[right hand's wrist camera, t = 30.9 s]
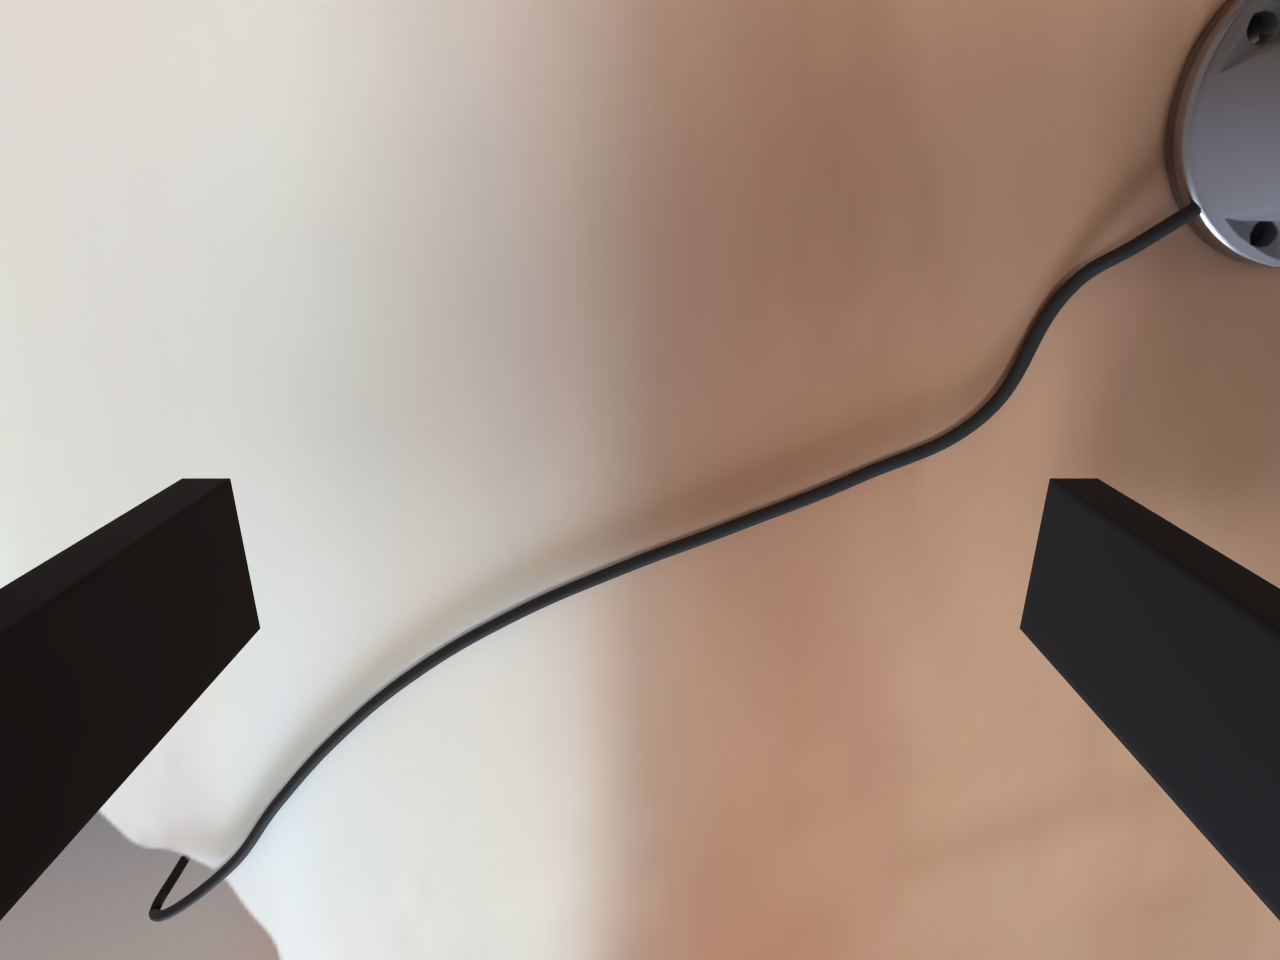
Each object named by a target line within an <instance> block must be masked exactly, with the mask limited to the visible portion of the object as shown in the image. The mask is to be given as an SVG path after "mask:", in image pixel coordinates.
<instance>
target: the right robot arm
mask: <svg viewBox="0 0 1280 960" xmlns="http://www.w3.org/2000/svg"><path fill="white" fill-rule="evenodd" d="M1166 162H1167V172H1168V177H1169V182H1170V186H1171V189H1172V192H1173V195H1174V199H1175V201H1176V203H1177V205H1178V207H1179V211H1178V212H1176V213H1174V214H1173V215H1171V216H1170V217H1168V218H1166V219H1165V220H1163V221H1162V222H1160V223H1158V224H1157V225H1155V226H1154V227H1152V228H1150V229H1149V230H1147V231H1146V232H1144V233H1142V234H1141V235H1139V236H1137V237H1136V238H1134V239H1133V240H1131V241H1129V242H1127V243H1126V244H1124V245H1122V246H1120V247H1118V248H1116V249H1114V250H1112V251H1110V252H1108V253H1106V254H1105V255H1103V256H1101V257H1099V258H1097V259H1095V260H1094V261H1092V262H1090V263H1089V264H1087V265H1086V266H1084V267H1083V268H1081V269H1080V270H1079V271H1078V272H1076V273H1075V274H1074V275H1073V276H1072V277H1071V278H1069V280H1068V281H1067V282H1066V283H1065V284H1064V285H1063V286H1062V287H1061V288H1060V289H1059V290H1058V291H1057V292H1056V293H1055V295H1054V296H1053V297H1052V298H1051V300H1050V301H1049V302H1048V303H1047V305H1046V306H1045V308H1044V309H1043V311H1042V312H1041V314H1040V315H1039V317H1038V319H1037V320H1036V322H1035V324H1034V325H1033V327H1032V329H1031V331H1030V333H1029V335H1028V337H1027V339H1026V341H1025V343H1024V345H1023V347H1022V349H1021V351H1020V353H1019V355H1018V357H1017V359H1016V361H1015V363H1014V365H1013V366H1012V368H1011V370H1010V372H1009V374H1008V375H1007V377H1006V379H1005V380H1004V382H1003V383H1002V385H1001V386H1000V388H999V389H998V390H997V392H996V393H995V394H994V395H993V396H992V398H991V399H990V400H989V401H988V402H987V403H986V404H985V405H984V406H983V407H982V408H981V409H980V410H979V411H978V412H976V413H975V414H974V415H973V416H971V417H970V418H969V419H968V420H966V421H965V422H963V423H962V424H961V425H959V426H958V427H956V428H955V429H953V430H951V431H950V432H948V433H946V434H944V435H943V436H941V437H939V438H937V439H935V440H933V441H931V442H928V443H926V444H924V445H921V446H919V447H916V448H914V449H911V450H909V451H906V452H903V453H901V454H898V455H895V456H893V457H890V458H887V459H885V460H882V461H880V462H877V463H875V464H872V465H869V466H867V467H865V468H862V469H860V470H858V471H856V472H853V473H851V474H849V475H846V476H844V477H842V478H839V479H837V480H835V481H832V482H830V483H828V484H825V485H823V486H820V487H818V488H815V489H813V490H810V491H808V492H805V493H803V494H800V495H798V496H795V497H792V498H790V499H787V500H785V501H782V502H779V503H777V504H774V505H771V506H769V507H766V508H764V509H761V510H758V511H756V512H753V513H750V514H748V515H745V516H743V517H740V518H737V519H735V520H732V521H730V522H727V523H724V524H722V525H719V526H716V527H714V528H711V529H708V530H706V531H703V532H700V533H698V534H695V535H692V536H689V537H687V538H684V539H681V540H678V541H676V542H673V543H670V544H667V545H665V546H662V547H659V548H657V549H654V550H651V551H649V552H646V553H643V554H641V555H638V556H636V557H633V558H631V559H628V560H626V561H623V562H621V563H618V564H616V565H613V566H611V567H608V568H606V569H603V570H601V571H598V572H596V573H593V574H591V575H589V576H586V577H584V578H581V579H579V580H576V581H574V582H571V583H569V584H567V585H564V586H562V587H560V588H557V589H555V590H553V591H550V592H548V593H546V594H544V595H542V596H539V597H537V598H535V599H533V600H531V601H529V602H527V603H525V604H523V605H520V606H518V607H516V608H514V609H512V610H510V611H508V612H506V613H505V614H503V615H501V616H499V617H497V618H495V619H493V620H491V621H489V622H487V623H485V624H483V625H481V626H480V627H478V628H476V629H474V630H472V631H470V632H469V633H467V634H465V635H463V636H462V637H460V638H458V639H456V640H455V641H453V642H451V643H450V644H448V645H446V646H445V647H443V648H442V649H440V650H438V651H437V652H435V653H434V654H432V655H431V656H429V657H428V658H426V659H425V660H423V661H422V662H420V663H419V664H417V665H416V666H414V667H413V668H412V669H410V670H409V671H407V672H406V673H404V674H403V675H402V676H400V677H399V678H398V679H396V680H395V681H394V682H392V683H391V684H389V685H388V686H387V687H386V688H384V689H383V690H382V691H380V692H379V693H378V694H377V695H375V696H374V697H373V698H372V699H371V700H369V701H368V702H367V703H366V704H365V705H364V706H362V707H361V708H360V709H359V710H358V711H357V712H356V713H355V714H353V715H352V716H351V717H350V718H349V719H348V720H347V721H346V722H345V723H344V724H343V725H342V726H341V727H339V728H338V729H337V730H336V731H335V732H334V733H333V734H332V735H331V736H330V737H329V738H328V739H327V740H326V741H325V742H324V743H323V744H322V745H321V746H320V747H319V748H318V749H317V750H316V751H315V752H314V753H313V754H312V756H311V757H310V758H309V759H308V760H307V761H306V762H305V763H304V764H303V766H302V767H301V768H300V769H299V770H298V771H297V772H296V774H295V775H294V776H293V777H292V778H291V780H290V781H289V782H288V783H287V784H286V786H285V787H284V788H283V789H282V790H281V792H280V793H279V794H278V795H277V796H276V798H275V799H274V800H273V801H272V803H271V804H270V805H269V807H268V808H267V809H266V811H265V812H264V813H263V815H262V816H261V818H260V819H259V821H258V822H257V824H256V825H255V827H254V828H253V830H252V832H251V833H250V835H249V836H248V838H247V839H246V841H245V842H244V844H243V845H242V846H241V847H240V849H239V850H238V851H237V852H236V854H235V855H234V856H233V857H232V858H231V859H230V860H229V861H228V862H227V863H226V864H225V865H224V866H223V867H222V868H220V869H219V870H218V871H217V872H216V873H215V874H214V875H212V876H211V877H210V878H209V879H208V880H207V881H205V882H204V883H203V884H202V885H200V886H199V887H198V888H197V889H195V890H194V891H193V892H191V893H190V894H189V895H187V896H186V897H184V898H183V899H182V900H180V901H179V902H177V903H175V904H174V905H172V906H170V907H168V908H166V909H164V910H161V907H162V905H163V903H164V901H165V899H166V898H167V896H168V894H169V893H170V891H171V890H172V888H173V886H174V885H175V883H176V882H177V880H178V879H179V877H180V875H181V874H182V872H183V870H184V869H185V867H186V865H187V864H188V862H189V860H190V859H191V858H190V857H188V856H186V855H183V854H182V856H181V858H180V859H179V861H178V863H177V864H176V866H175V867H174V869H173V871H172V872H171V874H170V875H169V877H168V878H167V880H166V882H165V883H164V885H163V886H162V888H161V889H160V891H159V892H158V894H157V896H156V897H155V899H154V901H153V903H152V905H151V908H150V911H149V917H150V919H151V920H153V921H156V922H160V921H163V920H166V919H169V918H171V917H173V916H175V915H177V914H178V913H180V912H182V911H183V910H185V909H186V908H188V907H189V906H191V905H192V904H193V903H195V902H196V901H198V900H199V899H200V898H201V897H203V896H204V895H205V894H207V893H208V892H209V891H210V890H211V889H213V888H214V887H215V886H216V885H217V884H219V883H220V882H221V881H222V880H223V879H224V878H226V877H227V876H228V875H229V874H230V873H231V872H232V871H233V870H234V869H235V868H236V867H237V866H238V865H239V864H240V863H241V862H242V861H243V860H244V859H245V857H246V856H247V855H248V854H249V852H250V851H251V849H252V848H253V847H254V845H255V844H256V842H257V841H258V839H259V838H260V836H261V835H262V833H263V832H264V830H265V828H266V827H267V825H268V824H269V823H270V821H271V820H272V818H273V817H274V816H275V814H276V813H277V812H278V810H279V809H280V808H281V807H282V805H283V804H284V803H285V802H286V801H287V799H288V798H289V797H290V796H291V795H292V793H293V792H294V791H295V790H296V789H297V788H298V786H299V785H300V784H301V783H302V782H303V780H304V779H305V778H306V777H307V776H308V775H309V774H310V772H311V771H312V770H313V769H314V768H315V767H316V766H317V765H318V764H319V763H320V762H321V761H322V759H323V758H324V757H325V756H326V755H327V754H328V753H329V752H330V751H331V750H332V749H333V748H334V747H335V746H336V745H337V744H338V743H340V742H341V741H342V740H343V739H344V738H345V737H346V736H347V735H348V734H349V733H350V732H351V731H352V730H353V729H354V728H356V727H357V726H358V725H359V724H360V723H361V722H362V721H363V720H364V719H366V718H367V717H368V716H369V715H370V714H371V713H372V712H374V711H375V710H376V709H377V708H378V707H380V706H381V705H382V704H383V703H385V702H386V701H387V700H388V699H390V698H391V697H392V696H394V695H395V694H396V693H398V692H399V691H400V690H402V689H403V688H404V687H406V686H407V685H409V684H410V683H411V682H413V681H414V680H416V679H417V678H419V677H420V676H421V675H423V674H424V673H426V672H427V671H429V670H430V669H432V668H433V667H435V666H436V665H438V664H439V663H441V662H442V661H444V660H446V659H447V658H449V657H450V656H452V655H454V654H455V653H457V652H459V651H460V650H462V649H464V648H466V647H467V646H469V645H471V644H473V643H475V642H476V641H478V640H480V639H482V638H484V637H486V636H487V635H489V634H491V633H493V632H495V631H497V630H499V629H501V628H503V627H505V626H507V625H509V624H511V623H513V622H515V621H517V620H519V619H521V618H523V617H525V616H527V615H529V614H531V613H533V612H535V611H537V610H539V609H542V608H544V607H546V606H548V605H550V604H553V603H555V602H557V601H559V600H562V599H564V598H566V597H569V596H571V595H574V594H576V593H578V592H581V591H583V590H586V589H588V588H591V587H593V586H596V585H598V584H601V583H603V582H606V581H608V580H611V579H613V578H615V577H618V576H620V575H623V574H625V573H628V572H630V571H633V570H635V569H638V568H641V567H643V566H646V565H648V564H651V563H654V562H656V561H659V560H662V559H664V558H667V557H670V556H673V555H675V554H678V553H681V552H684V551H686V550H689V549H692V548H695V547H697V546H700V545H703V544H706V543H708V542H711V541H714V540H717V539H719V538H722V537H725V536H727V535H730V534H732V533H735V532H738V531H740V530H743V529H746V528H748V527H751V526H753V525H756V524H759V523H761V522H764V521H767V520H769V519H772V518H775V517H777V516H780V515H783V514H785V513H788V512H791V511H793V510H796V509H798V508H801V507H804V506H806V505H809V504H811V503H814V502H816V501H819V500H821V499H824V498H826V497H829V496H831V495H834V494H836V493H839V492H841V491H843V490H846V489H848V488H850V487H853V486H855V485H857V484H859V483H862V482H864V481H866V480H869V479H871V478H873V477H876V476H878V475H881V474H884V473H886V472H889V471H891V470H894V469H897V468H899V467H902V466H905V465H908V464H910V463H913V462H916V461H918V460H921V459H923V458H926V457H928V456H930V455H933V454H935V453H937V452H939V451H941V450H943V449H946V448H947V447H949V446H951V445H953V444H955V443H957V442H958V441H960V440H961V439H963V438H965V437H966V436H968V435H969V434H970V433H972V432H973V431H975V430H976V429H977V428H979V427H980V426H981V425H982V424H984V423H985V422H986V421H987V420H988V419H989V418H990V417H992V416H993V415H994V414H995V413H996V412H997V411H998V410H999V409H1000V408H1001V406H1002V405H1003V404H1004V403H1005V402H1006V401H1007V400H1008V398H1009V397H1010V395H1011V394H1012V393H1013V391H1014V390H1015V388H1016V387H1017V385H1018V384H1019V382H1020V380H1021V379H1022V377H1023V375H1024V373H1025V372H1026V370H1027V368H1028V366H1029V364H1030V362H1031V360H1032V358H1033V356H1034V354H1035V352H1036V350H1037V348H1038V346H1039V344H1040V342H1041V340H1042V338H1043V337H1044V335H1045V333H1046V331H1047V329H1048V328H1049V326H1050V324H1051V323H1052V321H1053V319H1054V318H1055V316H1056V315H1057V314H1058V312H1059V311H1060V309H1061V308H1062V307H1063V306H1064V304H1065V303H1066V302H1067V301H1068V300H1069V298H1070V297H1071V296H1072V295H1073V294H1074V293H1075V292H1076V291H1077V290H1078V289H1079V288H1080V287H1081V286H1082V285H1084V284H1085V283H1086V282H1087V281H1089V280H1090V279H1091V278H1093V277H1094V276H1096V275H1097V274H1099V273H1101V272H1102V271H1104V270H1106V269H1108V268H1110V267H1112V266H1114V265H1116V264H1118V263H1120V262H1122V261H1124V260H1126V259H1127V258H1129V257H1131V256H1133V255H1135V254H1137V253H1138V252H1140V251H1142V250H1143V249H1145V248H1147V247H1148V246H1150V245H1152V244H1153V243H1155V242H1156V241H1158V240H1160V239H1161V238H1163V237H1165V236H1166V235H1168V234H1169V233H1171V232H1173V231H1174V230H1176V229H1178V228H1179V227H1181V226H1182V225H1184V224H1186V223H1188V224H1189V226H1190V227H1191V228H1192V229H1193V231H1194V232H1195V233H1196V234H1197V235H1198V236H1199V237H1200V238H1201V239H1202V240H1203V241H1204V242H1206V243H1207V244H1208V245H1209V246H1211V247H1212V248H1213V249H1215V250H1217V251H1218V252H1220V253H1222V254H1224V255H1225V256H1228V257H1230V258H1232V259H1235V260H1237V261H1241V262H1244V263H1248V264H1252V265H1258V266H1265V267H1274V268H1280V0H1229V1H1228V2H1227V3H1226V4H1225V5H1224V6H1223V8H1222V9H1221V10H1220V11H1219V12H1218V14H1217V15H1216V16H1215V17H1214V19H1213V20H1212V21H1211V23H1210V24H1209V25H1208V27H1207V28H1206V30H1205V31H1204V33H1203V34H1202V36H1201V38H1200V39H1199V41H1198V42H1197V44H1196V46H1195V48H1194V49H1193V51H1192V53H1191V55H1190V57H1189V59H1188V61H1187V63H1186V65H1185V67H1184V70H1183V72H1182V74H1181V76H1180V79H1179V82H1178V85H1177V88H1176V90H1175V93H1174V97H1173V101H1172V105H1171V108H1170V113H1169V119H1168V125H1167V135H1166ZM259 629H260V625H259V620H258V615H257V610H256V605H255V600H254V595H253V590H252V585H251V580H250V575H249V570H248V565H247V560H246V555H245V550H244V545H243V540H242V535H241V530H240V525H239V520H238V515H237V510H236V505H235V500H234V495H233V490H232V485H231V480H230V479H181V480H179V481H178V482H176V483H174V484H173V485H171V486H169V487H168V488H166V489H164V490H163V491H161V492H159V493H158V494H156V495H154V496H153V497H151V498H149V499H148V500H146V501H145V502H143V503H141V504H140V505H138V506H136V507H135V508H133V509H131V510H130V511H128V512H126V513H125V514H123V515H121V516H120V517H118V518H116V519H115V520H113V521H112V522H110V523H108V524H107V525H105V526H103V527H102V528H100V529H98V530H97V531H95V532H93V533H92V534H90V535H88V536H87V537H85V538H83V539H82V540H80V541H78V542H77V543H75V544H74V545H72V546H70V547H69V548H67V549H65V550H64V551H62V552H60V553H59V554H57V555H55V556H54V557H52V558H50V559H49V560H47V561H45V562H44V563H42V564H41V565H39V566H37V567H36V568H34V569H32V570H31V571H29V572H27V573H26V574H24V575H22V576H21V577H19V578H17V579H16V580H14V581H12V582H11V583H9V584H8V585H6V586H4V587H3V588H1V589H0V920H1V919H2V918H3V917H4V916H5V915H6V914H7V912H8V911H9V910H10V909H11V908H12V907H13V906H14V905H15V903H16V902H17V901H18V900H19V899H20V898H21V897H22V896H23V894H24V893H25V892H26V891H27V890H28V889H29V888H30V887H31V886H32V884H33V883H34V882H35V881H36V880H37V879H38V878H39V876H40V875H41V874H42V873H43V872H44V871H45V870H46V869H47V868H48V866H49V865H50V864H51V863H52V862H53V861H54V860H55V859H56V857H57V856H58V855H59V854H60V853H61V852H62V851H63V850H64V848H65V847H66V846H67V845H68V844H69V843H70V842H71V840H72V839H73V838H74V837H75V836H76V835H77V834H78V833H79V831H80V830H81V829H82V828H83V827H84V826H85V825H86V824H87V823H88V821H89V820H90V819H91V818H92V817H93V816H94V815H95V814H96V812H97V811H98V810H99V809H100V808H101V807H102V806H103V805H104V803H105V802H106V801H107V800H108V799H109V798H110V797H111V796H112V794H113V793H114V792H115V791H116V790H117V789H118V788H119V787H120V785H121V784H122V783H123V782H124V781H125V780H126V779H127V778H128V776H129V775H130V774H131V773H132V772H133V771H134V770H135V769H136V767H137V766H138V765H139V764H140V763H141V762H142V761H143V760H144V758H145V757H146V756H147V755H148V754H149V753H150V752H151V751H152V749H153V748H154V747H155V746H156V745H157V744H158V743H159V742H160V740H161V739H162V738H163V737H164V736H165V735H166V734H167V733H168V731H169V730H170V729H171V728H172V727H173V726H174V725H175V724H176V722H177V721H178V720H179V719H180V718H181V717H182V716H183V715H184V713H185V712H186V711H187V710H188V709H189V708H190V707H191V706H192V704H193V703H194V702H195V701H196V700H197V699H198V698H199V697H200V695H201V694H202V693H203V692H204V691H205V690H206V689H207V688H208V686H209V685H210V684H211V683H212V682H213V681H214V680H215V679H216V677H217V676H218V675H219V674H220V673H221V672H222V671H223V670H224V668H225V667H226V666H227V665H228V664H229V663H230V662H231V661H232V659H233V658H234V657H235V656H236V655H237V654H238V653H239V652H240V650H241V649H242V648H243V647H244V646H245V645H246V644H247V643H248V641H249V640H250V639H251V638H252V637H253V636H254V635H255V634H256V632H257V631H258V630H259ZM1020 629H1021V630H1022V631H1023V632H1024V634H1025V635H1026V636H1027V637H1028V638H1029V639H1030V640H1031V641H1032V643H1033V644H1034V645H1035V646H1036V647H1037V648H1038V649H1039V650H1040V652H1041V653H1042V654H1043V655H1044V656H1045V657H1046V658H1047V659H1048V661H1049V662H1050V663H1051V664H1052V665H1053V666H1054V667H1055V668H1056V670H1057V671H1058V672H1059V673H1060V674H1061V675H1062V676H1063V677H1064V679H1065V680H1066V681H1067V682H1068V683H1069V684H1070V685H1071V686H1072V688H1073V689H1074V690H1075V691H1076V692H1077V693H1078V694H1079V695H1080V697H1081V698H1082V699H1083V700H1084V701H1085V702H1086V703H1087V704H1088V706H1089V707H1090V708H1091V709H1092V710H1093V711H1094V712H1095V713H1096V715H1097V716H1098V717H1099V718H1100V719H1101V720H1102V721H1103V722H1104V724H1105V725H1106V726H1107V727H1108V728H1109V729H1110V730H1111V731H1112V733H1113V734H1114V735H1115V736H1116V737H1117V738H1118V739H1119V740H1120V742H1121V743H1122V744H1123V745H1124V746H1125V747H1126V748H1127V749H1128V751H1129V752H1130V753H1131V754H1132V755H1133V756H1134V757H1135V758H1136V760H1137V761H1138V762H1139V763H1140V764H1141V765H1142V766H1143V767H1144V769H1145V770H1146V771H1147V772H1148V773H1149V774H1150V775H1151V776H1152V778H1153V779H1154V780H1155V781H1156V782H1157V783H1158V784H1159V785H1160V787H1161V788H1162V789H1163V790H1164V791H1165V792H1166V793H1167V794H1168V796H1169V797H1170V798H1171V799H1172V800H1173V801H1174V802H1175V803H1176V805H1177V806H1178V807H1179V808H1180V809H1181V810H1182V811H1183V812H1184V814H1185V815H1186V816H1187V817H1188V818H1189V819H1190V820H1191V821H1192V823H1193V824H1194V825H1195V826H1196V827H1197V828H1198V829H1199V830H1200V832H1201V833H1202V834H1203V835H1204V836H1205V837H1206V838H1207V839H1208V841H1209V842H1210V843H1211V844H1212V845H1213V846H1214V847H1215V848H1216V850H1217V851H1218V852H1219V853H1220V854H1221V855H1222V856H1223V857H1224V859H1225V860H1226V861H1227V862H1228V863H1229V864H1230V865H1231V866H1232V868H1233V869H1234V870H1235V871H1236V872H1237V873H1238V874H1239V875H1240V877H1241V878H1242V879H1243V880H1244V881H1245V882H1246V883H1247V884H1248V886H1249V887H1250V888H1251V889H1252V890H1253V891H1254V892H1255V893H1256V895H1257V896H1258V897H1259V898H1260V899H1261V900H1262V901H1263V902H1264V904H1265V905H1266V906H1267V907H1268V908H1269V909H1270V910H1271V911H1272V913H1273V914H1274V915H1275V916H1276V917H1277V918H1278V919H1279V920H1280V589H1279V588H1277V587H1276V586H1274V585H1272V584H1271V583H1269V582H1268V581H1266V580H1264V579H1263V578H1261V577H1259V576H1258V575H1256V574H1254V573H1253V572H1251V571H1249V570H1248V569H1246V568H1244V567H1243V566H1241V565H1239V564H1238V563H1236V562H1235V561H1233V560H1231V559H1230V558H1228V557H1226V556H1225V555H1223V554H1221V553H1220V552H1218V551H1216V550H1215V549H1213V548H1211V547H1210V546H1208V545H1206V544H1205V543H1203V542H1202V541H1200V540H1198V539H1197V538H1195V537H1193V536H1192V535H1190V534H1188V533H1187V532H1185V531H1183V530H1182V529H1180V528H1178V527H1177V526H1175V525H1173V524H1172V523H1170V522H1168V521H1167V520H1165V519H1164V518H1162V517H1160V516H1159V515H1157V514H1155V513H1154V512H1152V511H1150V510H1149V509H1147V508H1145V507H1144V506H1142V505H1140V504H1139V503H1137V502H1135V501H1134V500H1132V499H1131V498H1129V497H1127V496H1126V495H1124V494H1122V493H1121V492H1119V491H1117V490H1116V489H1114V488H1112V487H1111V486H1109V485H1107V484H1106V483H1104V482H1102V481H1101V480H1099V479H1050V480H1049V485H1048V490H1047V495H1046V500H1045V505H1044V510H1043V515H1042V520H1041V525H1040V530H1039V535H1038V540H1037V545H1036V550H1035V555H1034V560H1033V565H1032V570H1031V575H1030V580H1029V585H1028V590H1027V595H1026V600H1025V605H1024V610H1023V615H1022V620H1021V625H1020Z"/></svg>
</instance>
